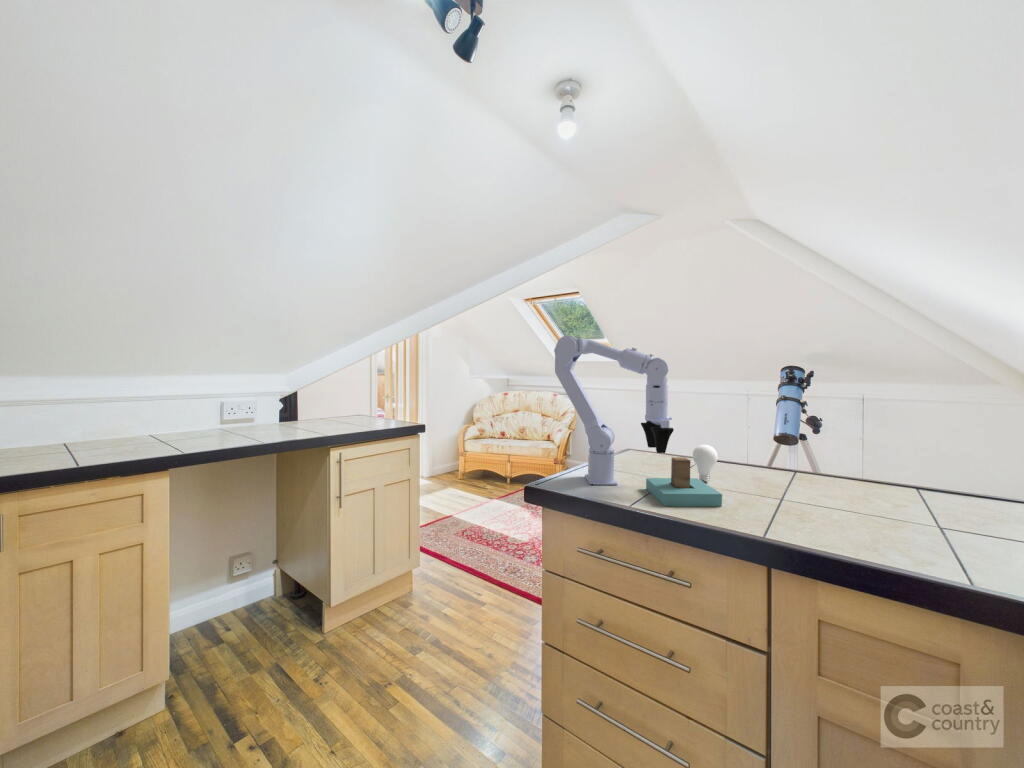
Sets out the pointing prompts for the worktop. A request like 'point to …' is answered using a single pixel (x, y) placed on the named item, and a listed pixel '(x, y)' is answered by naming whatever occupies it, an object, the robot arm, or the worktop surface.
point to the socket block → (683, 493)
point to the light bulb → (704, 461)
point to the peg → (680, 472)
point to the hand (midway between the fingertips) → (656, 450)
